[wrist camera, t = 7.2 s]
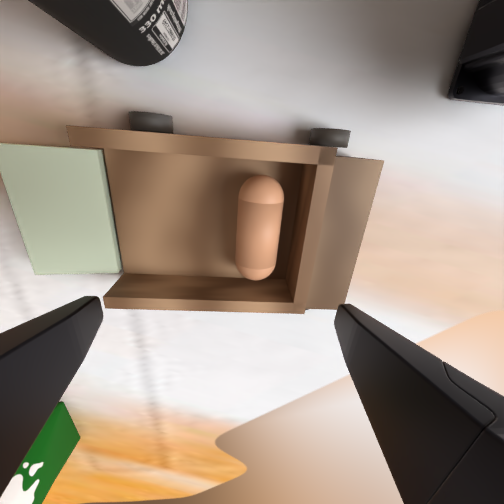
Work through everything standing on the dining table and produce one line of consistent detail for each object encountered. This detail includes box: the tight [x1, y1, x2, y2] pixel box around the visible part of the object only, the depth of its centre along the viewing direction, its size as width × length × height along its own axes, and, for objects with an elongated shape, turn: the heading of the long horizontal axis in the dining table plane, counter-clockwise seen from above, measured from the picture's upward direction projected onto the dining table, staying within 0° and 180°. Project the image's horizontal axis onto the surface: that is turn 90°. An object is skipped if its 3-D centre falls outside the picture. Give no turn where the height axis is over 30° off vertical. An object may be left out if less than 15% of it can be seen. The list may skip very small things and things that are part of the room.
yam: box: [235, 175, 284, 280], centre depth 18 cm, size 3×8×3 cm, turn 176°
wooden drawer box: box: [66, 111, 384, 314], centre depth 18 cm, size 18×14×4 cm
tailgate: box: [0, 143, 122, 275], centre depth 18 cm, size 1×9×6 cm
